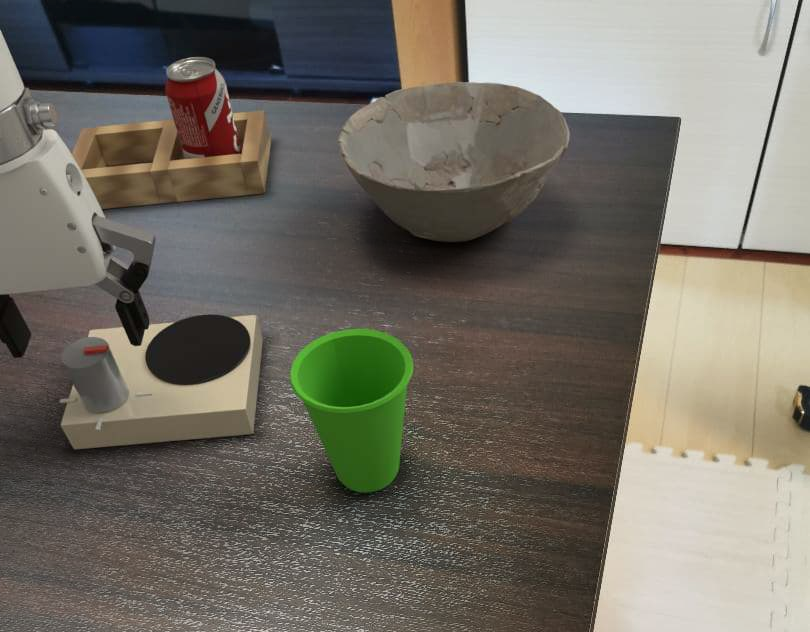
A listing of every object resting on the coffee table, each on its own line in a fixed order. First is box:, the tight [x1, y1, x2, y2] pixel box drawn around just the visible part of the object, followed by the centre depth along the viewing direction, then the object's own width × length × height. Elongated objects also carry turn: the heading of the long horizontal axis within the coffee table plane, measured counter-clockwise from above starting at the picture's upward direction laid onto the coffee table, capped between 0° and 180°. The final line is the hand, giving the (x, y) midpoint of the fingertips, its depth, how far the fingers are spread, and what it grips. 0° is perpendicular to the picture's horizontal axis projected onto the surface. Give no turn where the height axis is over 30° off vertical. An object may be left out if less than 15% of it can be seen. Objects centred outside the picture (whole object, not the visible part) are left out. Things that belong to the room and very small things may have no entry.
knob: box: [60, 336, 129, 413], centre depth 71 cm, size 4×4×5 cm
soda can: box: [164, 56, 242, 159], centre depth 98 cm, size 7×7×12 cm
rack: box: [71, 109, 272, 210], centre depth 101 cm, size 23×12×4 cm, turn 92°
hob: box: [59, 314, 264, 450], centre depth 76 cm, size 17×14×3 cm
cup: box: [289, 328, 414, 494], centre depth 65 cm, size 9×9×11 cm
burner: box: [145, 314, 251, 385], centre depth 76 cm, size 10×10×1 cm
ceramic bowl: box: [337, 81, 571, 243], centre depth 88 cm, size 22×23×10 cm
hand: (81, 341), depth 68 cm, fingers open, 9 cm apart
